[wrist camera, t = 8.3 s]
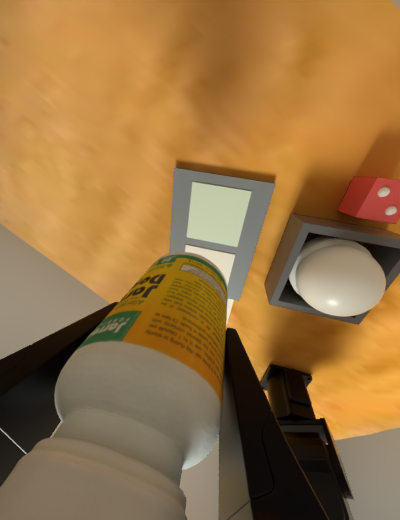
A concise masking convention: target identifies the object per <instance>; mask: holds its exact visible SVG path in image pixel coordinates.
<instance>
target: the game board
mask: <svg viewBox="0 0 400 520" xmlns="http://www.w3.org/2000/svg"><path fill="white" fill-rule="evenodd" d="M274 187H275V183H269V182H263V181H256V180H250V179H243V178H237V177H230V176H224V175H218V174H211V173H205V172H198V171H192V170H185V169H179V168H174V185H173V202H172V219H171V236H170V253H175V252H189V253H195V254H198V255H201V256H203V257H205V258H207V259H208V260H210V261H211V262H212V263H214V264H215V265H216V266H217V267H218V268H219V270H220V271H221V272H222V274H223V276H224V278H225V280H226V283H227V289H228V301H227V320H226V325H227V322H228V318H229V315H230V312H231V308H232V305H233V301H234V300H237V301H239V300H240V297H241V293H242V290H243V287H244V284H245V281H246V277H247V274H248V271H249V268H250V265H251V261H252V258H253V255H254V252H255V248H256V245H257V242H258V239H259V236H260V232H261V229H262V226H263V223H264V220H265V216H266V213H267V210H268V207H269V204H270V200H271V197H272V194H273V191H274ZM170 253H169V254H170Z"/></svg>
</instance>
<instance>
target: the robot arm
mask: <svg viewBox="0 0 400 520" xmlns="http://www.w3.org/2000/svg"><path fill="white" fill-rule="evenodd" d="M118 303H119V302H114V303H112V304H110V305H108V306H106V307H104V308H102V309H100V310H98V311H96V312H94V313H92V314H90V315H88V316H86V317H84V318H82V319H80V320H78V321H77V322H75V323H73V324H71V325H69V326H67V327H65V328H63V329H61V330H59V331H57V332H55V333H53V334H51V335H49V336H47V337H45V338H43V339H41V340H39V341H37V342H35V343H33V344H32V345H29V346H27V347H25V348H23V349H21V350H19V351H17V352H15V353H13V354H11V355H9V356H7V357H5V358H3V359H1V360H0V487H1V486H2V484H3V483H4V481H5V480H6V479H7V477H8V476H9V475H10V473H11V472H12V470H13V469H14V467H15V466H16V464H17V463H18V461H19V460H20V459H21V458H22V457H23V456H25V455H26V454H28V453H29V452H30V451H31V450H32V449H33V448H34V446H35V445H36V444H37V443H38V442H40V441H41V440H43V439H46V438H50V436H51V435H52V433H53V432H54V430H55V429H56V427H57V426H58V424H59V423H60V421H61V419H60V417H59V415H58V413H57V410H56V406H55V396H54V394H55V386H56V383H57V380H58V377H59V375H60V372H61V370H62V369H63V367H64V366H65V364H66V362H67V361H68V360H69V358H70V357H71V356H72V355H73V353H74V352H75V351H76V349H77V348H78V347H79V346H80V345H81V344H82V343H83V342H84V341H85V340H86V338H87V337H88V336H89V335H90V334H91V333H92V332H93V331H94V330H95V329H96V328H97V326H98V325H99V324H100V323H101V322H102V321H103V320H104V319H105V318H106V316H107V315H108V314H109V313H110V312H111V311H112V310H113V309H114V308H115V306H116V305H117V304H118ZM311 381H312V376H311V375H309V374H306V373H302V372H298V371H294V370H290V369H287V368H283V367H279V366H275V365H270V366H269V368H268V370H267V372H266V373H265V375H264V377H263V379H262V381H261V383H260V382H259V379H258V377H257V375H256V373H255V371H254V368H253V366H252V364H251V362H250V360H249V357H248V355H247V353H246V351H245V349H244V346H243V344H242V342H241V340H240V338H239V335H238V333H237V331H236V330H235V329H233V328H227V330H226V342H225V364H224V386H223V406H222V419H221V427H220V431H219V520H354V519H353V516H352V513H351V510H350V507H349V504H348V501H347V499H354V498H353V495H352V491H351V488H350V485H349V482H348V479H347V476H346V473H345V470H344V467H343V463H342V461H341V458H340V455H339V452H338V450H337V447H336V444H335V441H334V439H333V436H332V434H331V432H330V429H329V427H328V425H327V423H326V420H325V418H320V419H316V417H315V414H314V411H313V408H312V405H311V400H310V397H309V394H308V391H307V388H306V387H307V386H308V385H309V383H310V382H311ZM264 390H266V391H268V398H269V402H268V399H267V397H266V395H265V393H264ZM325 443H328V445H326V444H325Z"/></svg>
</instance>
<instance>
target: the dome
mask: <svg viewBox="0 0 400 520" xmlns="http://www.w3.org/2000/svg"><path fill="white" fill-rule="evenodd" d="M288 279H289V281H290V283H291V285H292V287H293V289H294V290H295V291H296V293H297V294H298V295H300V296H301V297H302V298H303V299H304V300H305V301H306V302H307V303H308V304H309V305H310V306H312V307H313V308H315V309H316V310H318V311H320V312H323V313H326V314H329V315H333V316H354V315H358V314H361V313H364V312H366V311H368V310H370V309H371V308H373V307H374V306H375V305H377V304H378V302H379V301H380V300H381V298H382V297H383V294H384V292H385V287H386V279H385V275H384V272H383V270H382V268H381V266H380V265H379V264H378V262H377V261H376V260H375V259H374V258H373V257H372V255H371V253H370V252H369V251H368V250H367V249H366V248H365V247H363V246H362V245H360V244H358V243H357V242H355V241H353V240H349V239H344V238H338V237H333V236H321V237H317V238H314V239H312V240H310V241H308V242H306V243H304V244H303V246H302V248H301V251H300V253H299V255H298V257H297V260H296V262H295V264H294V266H293V269H292V271H291V273H290V275H289V277H288Z"/></svg>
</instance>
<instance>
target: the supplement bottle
mask: <svg viewBox="0 0 400 520" xmlns="http://www.w3.org/2000/svg"><path fill="white" fill-rule="evenodd" d="M227 301H228V289H227V283H226V280H225V278H224V276H223V274H222V272H221V271H220V270H219V268H218V267H217V266H216V265H215V264H214V263H212V262H211V261H210V260H208V259H207V258H205V257H203V256H201V255H198V254H195V253H189V252H175V253H170V254H167V255H164V256H162V257H161V258H159V259H158V260H157V261H156V262H155V263H154V264H153V265H152V266H151V267H150V268H149V269H148V270H147V272H146V273H145V274H144V275H143V276H142V277H141V278H140V279H139V281H138V282H137V283H136V284H135V285H134V286H133V287H132V289H131V290H130V291H129V292H128V293H127V294H126V295H125V296H124V297H123V298H122V300H121V301H120V302H119V303H118V304H117V305H116V306H115V308H114V309H113V310H112V311H111V312H110V313H109V314H108V315H107V316H106V318H105V319H104V320H103V321H102V322H101V323H100V324H99V325H98V326H97V328H96V329H95V330H94V331H93V332H92V333H91V334H90V335H89V336H88V337H87V338H86V340H85V341H84V342H83V343H82V344H81V345H80V346H79V347H78V348H77V349H76V351H75V352H74V353H73V355H72V356H71V357H70V358H69V360H68V361H67V362H66V364H65V366H64V367H63V369H62V370H61V372H60V375H59V377H58V380H57V383H56V386H55V394H54V396H55V406H56V410H57V413H58V415H59V417H60V419H61V421H62V422H63V423H62V424H61V425H60V427H59V428H58V430H57V431H56V433H55V434H54V436H53V437H52V438H46V439H43V440H41V441H40V442H38V443H37V444H36V445H35V446H34V448H33V449H32V450H31V451H30V452H29V453H28V454H26V455H25V456H23V457H22V458H21V459H20V460H19V461H18V463H17V464H16V466H15V467H14V469H13V470H12V472H11V473H10V475H9V476H8V477H7V479H6V480H5V481H4V483H3V484H2V486H1V487H0V520H187V517H186V515H185V507H186V497H185V495H184V493H183V491H182V490H181V489H180V487H179V485H180V479H181V473H182V470H183V469H187V468H190V467H192V466H194V465H196V464H197V463H199V462H201V461H202V460H203V459H204V458H205V457H206V456H207V455H208V453H209V452H210V451H211V449H212V448H213V446H214V444H215V442H216V440H217V438H218V435H219V431H220V427H221V419H222V406H223V386H224V364H225V342H226V320H227Z"/></svg>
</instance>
